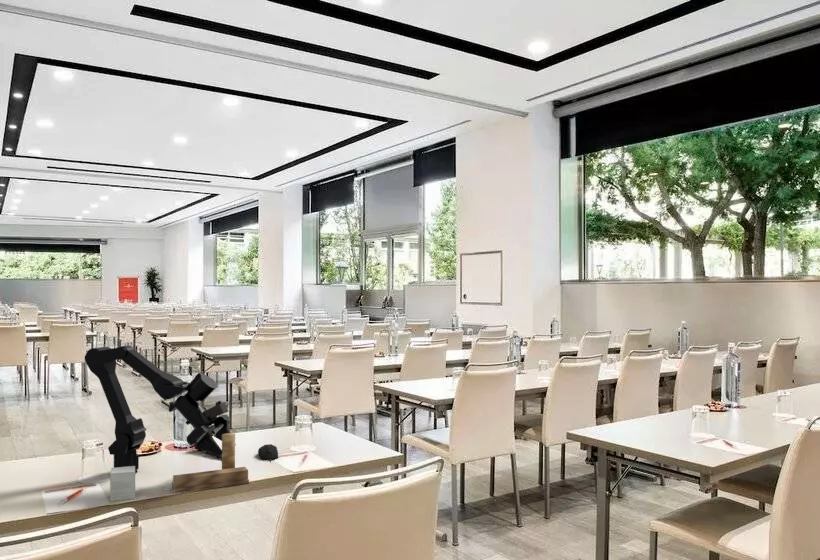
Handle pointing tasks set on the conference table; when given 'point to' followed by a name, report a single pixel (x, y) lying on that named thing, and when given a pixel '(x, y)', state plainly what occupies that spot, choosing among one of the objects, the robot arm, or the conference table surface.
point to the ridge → (210, 479)
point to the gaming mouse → (268, 452)
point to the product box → (122, 483)
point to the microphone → (209, 452)
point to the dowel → (228, 450)
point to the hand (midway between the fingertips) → (228, 450)
